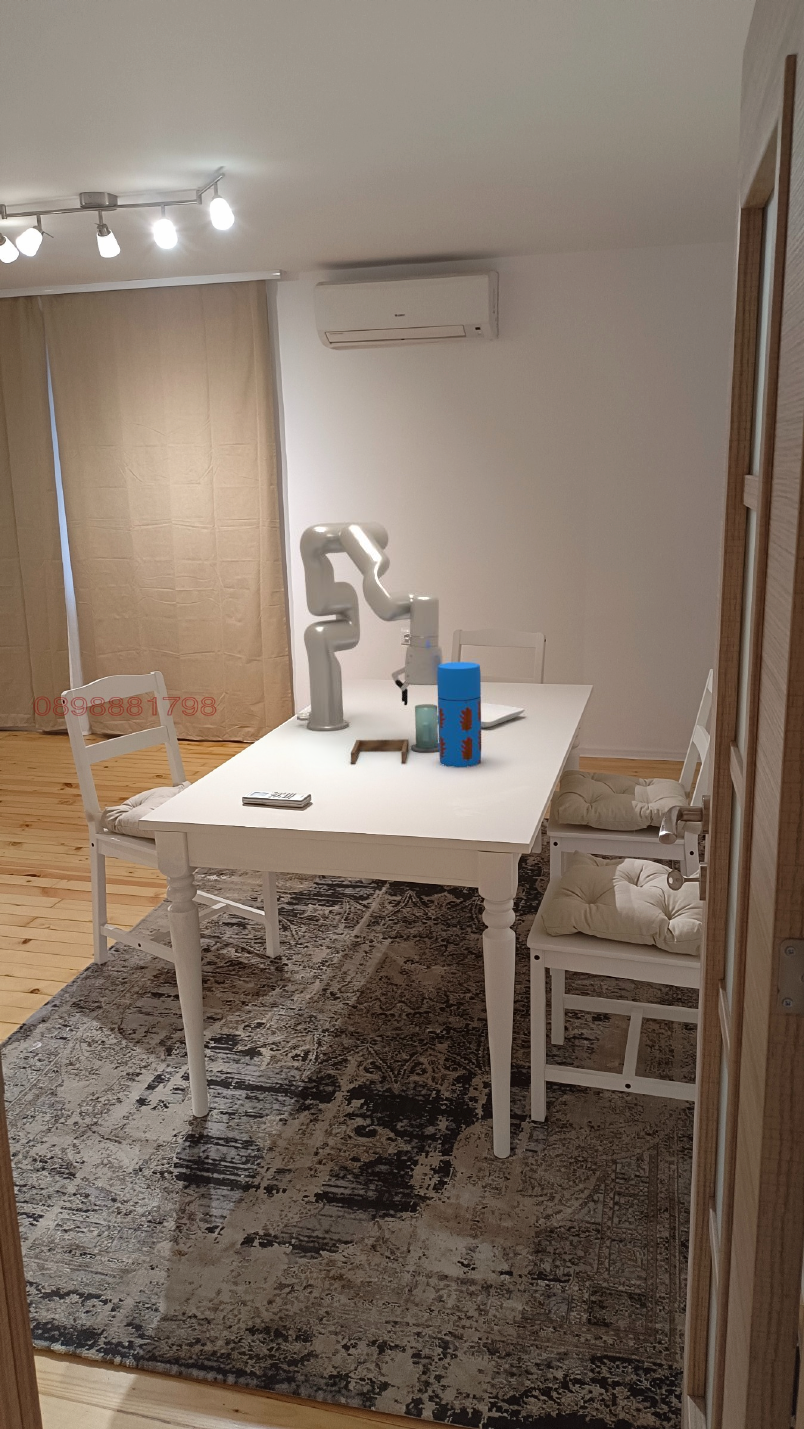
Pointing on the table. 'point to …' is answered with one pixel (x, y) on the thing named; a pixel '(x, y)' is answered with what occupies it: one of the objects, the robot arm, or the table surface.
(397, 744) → the holder
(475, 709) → the thermos
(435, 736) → the teal mug
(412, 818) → the table surface
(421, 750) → the coaster
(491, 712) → the salad plate
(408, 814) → the table surface
